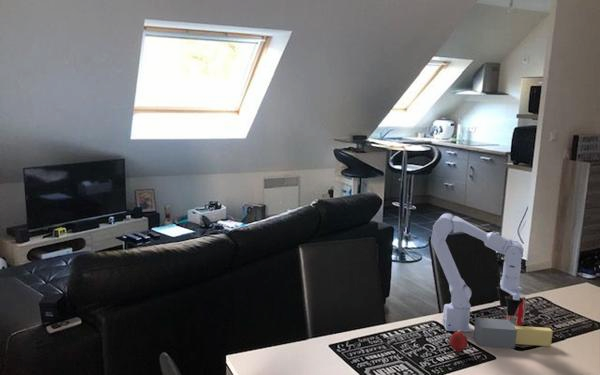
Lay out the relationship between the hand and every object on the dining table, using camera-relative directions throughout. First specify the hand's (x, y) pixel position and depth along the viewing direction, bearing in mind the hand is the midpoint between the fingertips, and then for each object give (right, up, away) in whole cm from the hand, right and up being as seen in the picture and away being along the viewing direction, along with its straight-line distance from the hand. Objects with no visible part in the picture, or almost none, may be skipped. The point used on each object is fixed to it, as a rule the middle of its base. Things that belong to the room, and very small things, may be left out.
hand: (507, 310), depth 174 cm
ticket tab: (+6, -11, -3) cm, 13 cm away
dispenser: (-6, -11, -2) cm, 12 cm away
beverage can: (+9, -9, +13) cm, 18 cm away
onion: (-21, -12, -9) cm, 26 cm away
